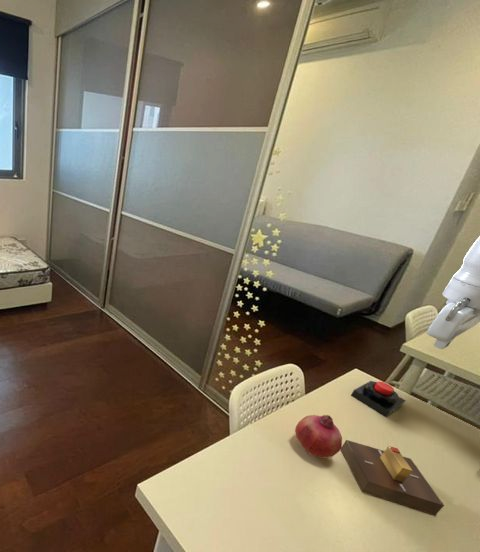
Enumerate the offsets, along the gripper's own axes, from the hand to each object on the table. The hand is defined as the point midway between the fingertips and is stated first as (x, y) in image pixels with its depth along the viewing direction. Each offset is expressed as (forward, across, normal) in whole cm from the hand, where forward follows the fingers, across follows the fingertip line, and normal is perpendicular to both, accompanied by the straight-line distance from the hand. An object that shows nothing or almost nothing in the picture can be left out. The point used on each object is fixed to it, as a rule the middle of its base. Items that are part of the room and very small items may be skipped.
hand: (439, 346), depth 76 cm
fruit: (+20, -37, +3) cm, 42 cm away
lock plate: (+20, -29, -8) cm, 36 cm away
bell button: (+17, -2, +4) cm, 18 cm away
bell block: (+21, -2, +4) cm, 21 cm away
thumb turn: (+17, -29, -8) cm, 35 cm away
